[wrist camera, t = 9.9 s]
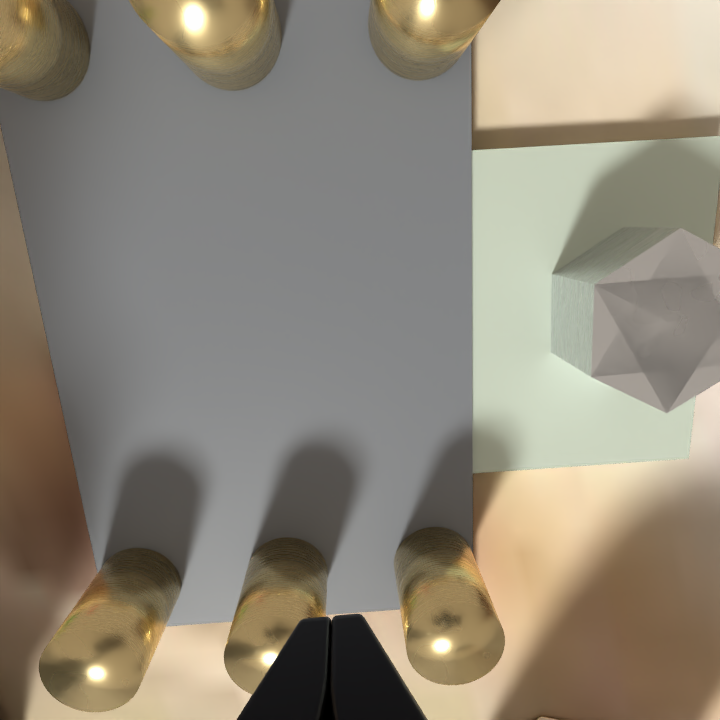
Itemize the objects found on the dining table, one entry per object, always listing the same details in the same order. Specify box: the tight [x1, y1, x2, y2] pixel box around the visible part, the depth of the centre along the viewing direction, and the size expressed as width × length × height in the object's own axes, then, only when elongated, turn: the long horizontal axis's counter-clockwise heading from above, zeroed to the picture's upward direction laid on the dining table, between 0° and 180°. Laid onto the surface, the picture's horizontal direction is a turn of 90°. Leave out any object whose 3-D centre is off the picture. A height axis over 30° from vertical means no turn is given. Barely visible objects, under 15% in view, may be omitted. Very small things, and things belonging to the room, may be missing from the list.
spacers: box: [0, 0, 505, 712], centre depth 15 cm, size 14×21×4 cm, turn 3°
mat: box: [472, 136, 720, 473], centre depth 18 cm, size 8×11×1 cm
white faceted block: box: [551, 227, 720, 413], centre depth 16 cm, size 5×5×3 cm
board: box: [0, 0, 473, 626], centre depth 18 cm, size 14×22×1 cm, turn 3°
